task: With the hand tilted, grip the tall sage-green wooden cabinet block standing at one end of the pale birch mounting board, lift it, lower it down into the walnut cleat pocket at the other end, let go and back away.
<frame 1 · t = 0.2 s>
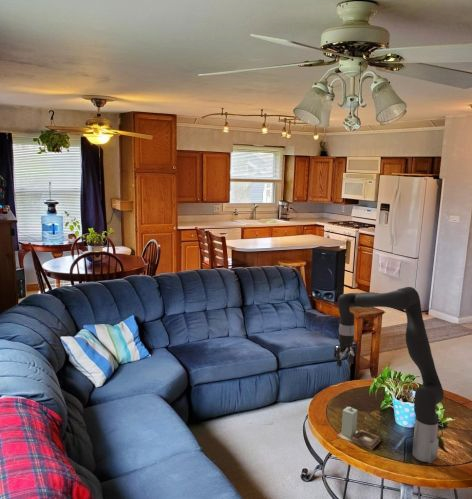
hand: (345, 364, 227), 27 cm above the table, tool pointing down, fingers open, 8 cm apart
cabinet block: (348, 434, 212), point 1 cm above the table, touching mount board
mount board: (358, 440, 210), on the table
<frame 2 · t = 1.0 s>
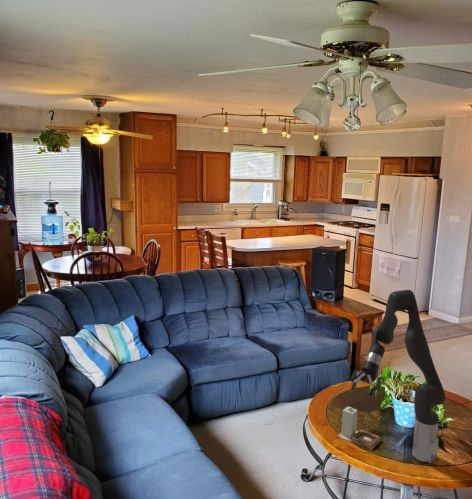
hand: (361, 393, 219), 17 cm above the table, tool tilted 45°, fingers open, 8 cm apart
nothing on the table moved.
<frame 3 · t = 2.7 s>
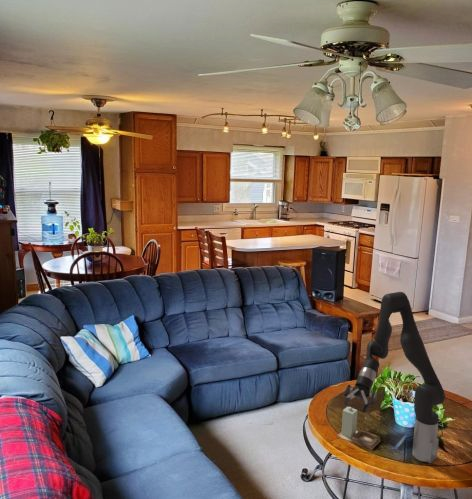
hand: (354, 409, 214), 12 cm above the table, tool tilted 45°, fingers open, 8 cm apart
nothing on the table moved.
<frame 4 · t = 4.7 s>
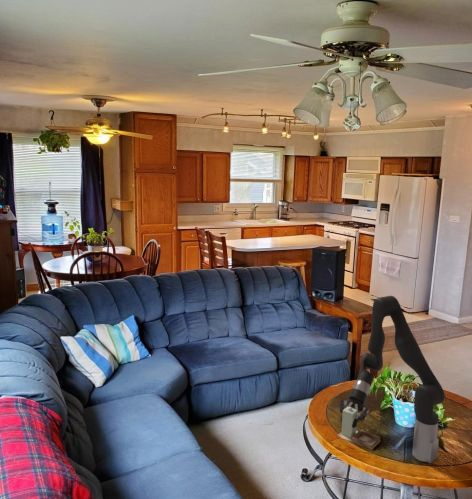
hand: (347, 425, 210), 7 cm above the table, tool tilted 45°, fingers closed on cabinet block, 5 cm apart
cabinet block: (348, 434, 212), point 1 cm above the table, touching gripper, mount board
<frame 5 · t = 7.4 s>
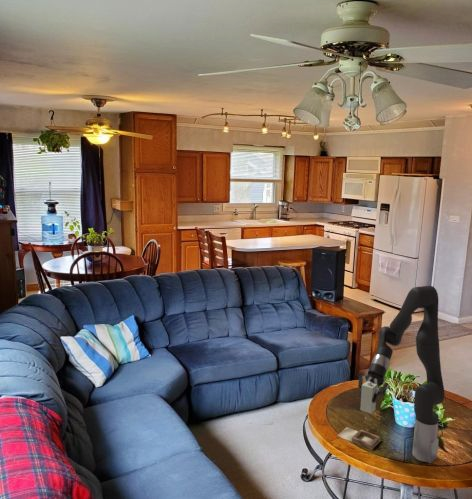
hand: (366, 400, 202), 22 cm above the table, tool tilted 45°, fingers closed on cabinet block, 5 cm apart
cabinet block: (367, 409, 205), point 16 cm above the table, touching gripper
when the fingers open (8 cm above the table, at t = 9.9 s): cabinet block drops 1 cm, resting on mount board.
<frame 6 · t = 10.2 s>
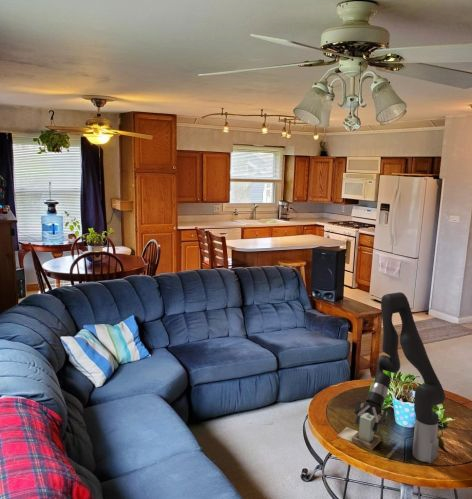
hand: (365, 427, 205), 8 cm above the table, tool tilted 45°, fingers open, 7 cm apart
cabinet block: (365, 440, 207), point 1 cm above the table, touching mount board
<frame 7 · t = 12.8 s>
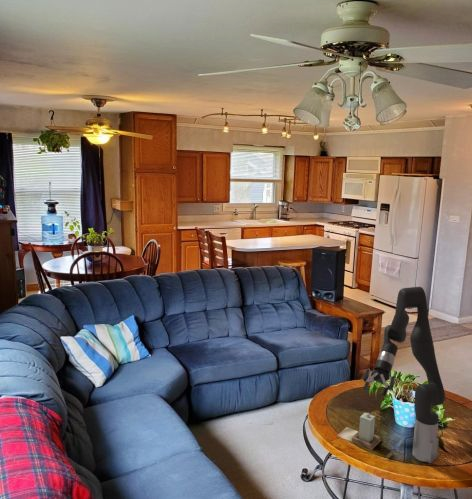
hand: (374, 393, 214), 20 cm above the table, tool tilted 45°, fingers open, 8 cm apart
nothing on the table moved.
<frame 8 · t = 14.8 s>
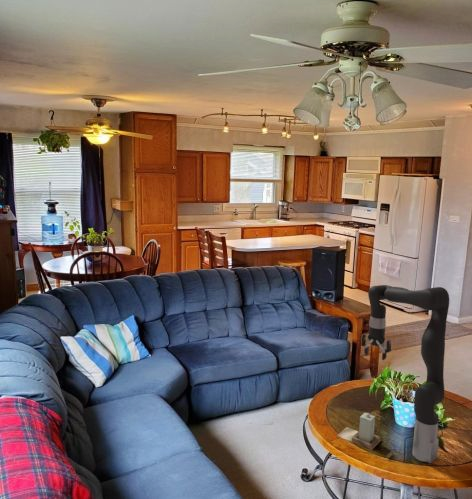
hand: (375, 357, 223), 33 cm above the table, tool pointing down, fingers open, 8 cm apart
nothing on the table moved.
at the end: cabinet block 0.1 cm from the target spot, point 1.2 cm above the table; cabinet block tilted 0°; the gripper is holding nothing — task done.
